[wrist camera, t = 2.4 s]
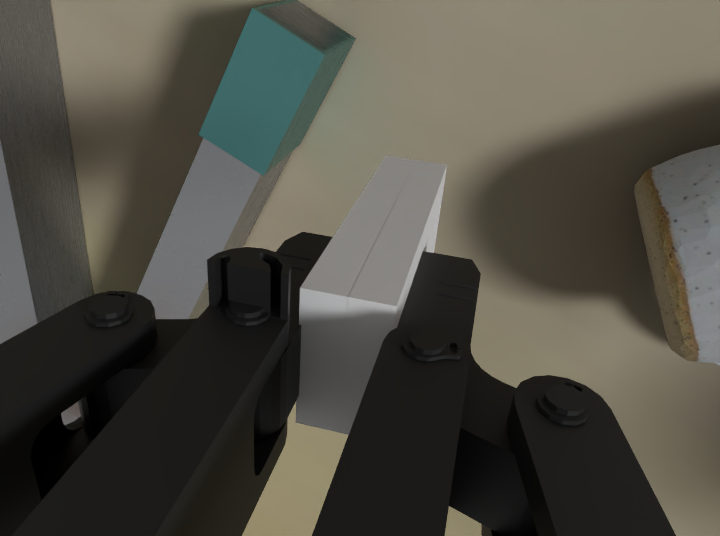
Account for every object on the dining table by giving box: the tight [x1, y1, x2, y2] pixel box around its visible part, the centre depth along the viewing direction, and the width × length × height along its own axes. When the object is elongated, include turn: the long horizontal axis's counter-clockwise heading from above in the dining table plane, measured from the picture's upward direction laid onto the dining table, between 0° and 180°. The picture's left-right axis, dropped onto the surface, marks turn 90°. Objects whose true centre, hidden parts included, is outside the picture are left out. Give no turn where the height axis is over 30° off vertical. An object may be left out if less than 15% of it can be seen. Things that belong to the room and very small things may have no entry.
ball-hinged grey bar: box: [0, 0, 93, 344], centre depth 28 cm, size 30×5×5 cm, turn 175°
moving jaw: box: [61, 0, 356, 425], centre depth 28 cm, size 27×7×6 cm, turn 150°
